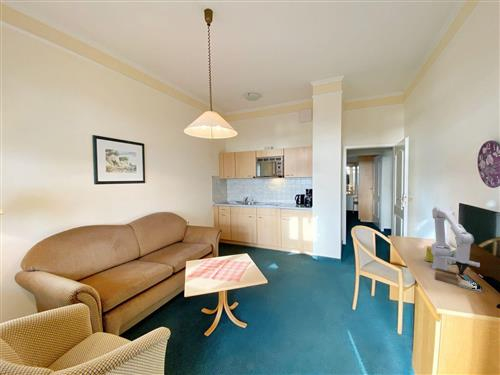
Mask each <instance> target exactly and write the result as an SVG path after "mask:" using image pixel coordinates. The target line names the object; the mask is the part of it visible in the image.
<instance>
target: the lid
mask: <svg viewBox="0 0 500 375" xmlns="http://www.w3.org/2000/svg"><path fill="white" fill-rule="evenodd" d="M457 278H458V282H457V285H458V284H459V285H462V286H466V287H470V288H475V289H477V286H473V285H472V284H470V282H471V281H469V282H468V280H465V279H461V275H457ZM474 283H475V284H476V282H474Z"/></svg>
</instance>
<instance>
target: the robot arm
mask: <svg viewBox="0 0 500 375" xmlns="http://www.w3.org/2000/svg"><path fill="white" fill-rule="evenodd" d="M431 212H432V219H434V231H435V242H434V243H432V244H431V253H432V254H433V255H434V259H433V263H432V265H431V268H432V269H434V270H436V268H439V269H444V270H448V264H447V260H450V261H455V262H456V263H455V264H456V266H457V268H458V274H459V276H463V274H464V273H465V270H466V269H468V268H469V265H470V266H474V267H477V268H480V266H481V264H480V262H476V261H472V260H470V254H471V245H472V244H474V241H475V238H474V235H473V234H471V233H470V232H467V230H466V229H465V228H464V227H463V225H462V224H460V223H458V220H457V219H456V218H455V217H456V216H455V211H454V209H453V208H452V207H439V206H435V207H433V209H432V211H431ZM446 221H447V222H448V224H450V229H451V231H452V233H453V234H454V239H455V245H456V249H457V250H456V258H455V257H450V256H451V254H452V252H451V249H450V247H451V246H450V245H449V244H447V242H446V241H447V240H446V230H445V227H446V226H445V222H446Z"/></svg>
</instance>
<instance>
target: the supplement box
mask: <svg viewBox="0 0 500 375" xmlns="http://www.w3.org/2000/svg"><path fill="white" fill-rule="evenodd" d="M433 259H434V255H433V254H432V253H431V246H429V245H426V256H425V261H426V262H427V263H432V264H433Z"/></svg>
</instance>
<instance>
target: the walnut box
mask: <svg viewBox="0 0 500 375" xmlns="http://www.w3.org/2000/svg"><path fill="white" fill-rule="evenodd" d="M434 275H435V276H434V279H435V280H436V281H440V282H444V283H447V284H451V285H453V286H458V283H457V282H458V278H457V276H458V272H456V271H451V270H448V269H447V270H444V269H439V268H436V269H435V274H434Z"/></svg>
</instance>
